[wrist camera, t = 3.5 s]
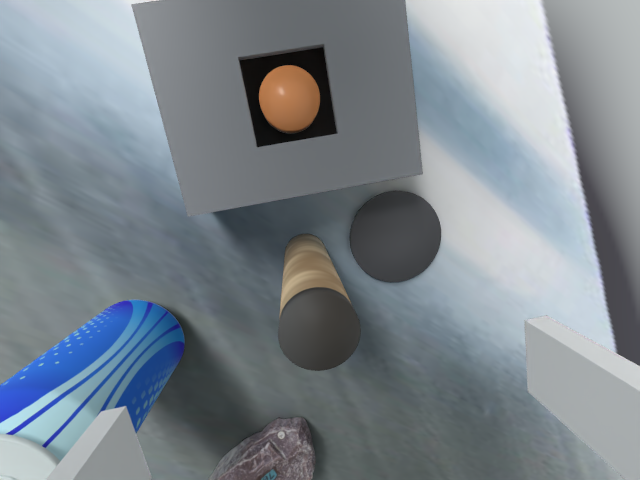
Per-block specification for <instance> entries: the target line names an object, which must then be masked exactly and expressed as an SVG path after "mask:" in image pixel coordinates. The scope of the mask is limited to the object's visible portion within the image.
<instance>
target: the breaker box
mask: <svg viewBox="0 0 640 480" xmlns="http://www.w3.org/2000/svg"><path fill="white" fill-rule="evenodd" d="M132 8H133V12H134V16H135V20H136V23H137V27H138V31H139V35H140V38H141V42H142V46H143V50H144V53H145V57H146V61H147V65H148V69H149V72H150V76H151V80H152V84H153V87H154V91H155V95H156V99H157V102H158V106H159V110H160V114H161V117H162V121H163V125H164V129H165V132H166V136H167V140H168V144H169V147H170V151H171V155H172V159H173V162H174V166H175V170H176V174H177V177H178V181H179V185H180V189H181V192H182V196H183V200H184V204H185V207H186V211H187V215H188V217H189V216H194V215H200V214H205V213H211V212H216V211H222V210H227V209H233V208H238V207H244V206H249V205H255V204H260V203H266V202H271V201H277V200H282V199H288V198H293V197H299V196H304V195H310V194H315V193H321V192H326V191H332V190H338V189H343V188H349V187H354V186H360V185H365V184H371V183H376V182H382V181H387V180H393V179H398V178H404V177H409V176H415V175H420V174H423V172H422V162H421V153H420V143H419V133H418V123H417V113H416V103H415V93H414V84H413V74H412V64H411V54H410V44H409V34H408V24H407V15H406V5H405V0H159V1H152V2H145V3H138V4H132ZM321 47H323V48H324V54H325V61H326V67H327V74H328V80H329V87H330V93H331V99H332V106H333V112H334V119H335V125H336V132H337V134H332V135H326V136H320V137H314V138H308V139H303V140H297V141H291V142H285V143H279V144H274V145H268V146H262V147H257V142H256V138H255V133H254V128H253V123H252V118H251V114H250V109H249V104H248V99H247V94H246V90H245V85H244V80H243V75H242V70H241V66H240V61H239V60H245V59H252V58H258V57H264V56H271V55H277V54H283V53H290V52H296V51H302V50H309V49H315V48H321Z"/></svg>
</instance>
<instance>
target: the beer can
mask: <svg viewBox="0 0 640 480" xmlns="http://www.w3.org/2000/svg"><path fill="white" fill-rule="evenodd" d="M184 346H185V339H184V334H183V330H182V328H181V326H180V324H179V322H178V321H177V319H176V318H175V317H174V316H173V315H172V314H171V313H170V312H169V311H168V310H166V309H165V308H163V307H162V306H160V305H158V304H155V303H153V302H149V301H145V300H126V301H122V302H119V303H116V304H114V305H112V306H110V307H108V308H107V309H105V310H104V311H103V312H101V313H100V314H98V315H97V316H96V317H94V318H93V319H91V320H90V321H89V322H87V323H86V324H84V325H83V326H82V327H80V328H79V329H77V330H76V331H75V332H73V333H72V334H71V335H69V336H68V337H66V338H65V339H64V340H62V341H61V342H59V343H58V344H57V345H55V346H54V347H52V348H51V349H50V350H48V351H47V352H46V353H44V354H43V355H41V356H40V357H39V358H37V359H36V360H34V361H33V362H32V363H30V364H29V365H27V366H26V367H25V368H23V369H22V370H21V371H19V372H18V373H16V374H15V375H14V376H12V377H11V378H9V379H8V380H7V381H5V382H4V383H2V384H1V385H0V480H46V479H47V477H48V476H49V475H50V474H51V473H52V471H53V470H54V469H55V468H56V466H57V465H58V464H59V463H60V461H61V460H62V459H63V458H64V457H65V455H66V454H67V453H68V452H69V450H70V449H71V448H72V447H73V445H74V444H75V443H76V442H77V441H78V439H79V438H80V437H81V436H82V434H83V433H84V432H85V431H86V429H87V428H88V427H89V426H90V425H91V423H92V422H93V421H94V420H95V418H96V417H97V416H98V415H99V413H100V412H101V411H105V410H110V409H115V408H119V407H124V406H126V407H127V410H128V413H129V416H130V418H131V421H132V424H133V427H134V429H135V432H136V433H137V431H138V430H139V428H140V426H141V425H142V423H143V421H144V420H145V418H146V416H147V415H148V413H149V411H150V410H151V408H152V406H153V405H154V403H155V401H156V400H157V398H158V396H159V395H160V393H161V391H162V390H163V388H164V386H165V385H166V383H167V381H168V380H169V378H170V376H171V375H172V373H173V371H174V370H175V368H176V366H177V365H178V363H179V361H180V360H181V357H182V355H183V352H184Z"/></svg>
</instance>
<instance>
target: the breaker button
mask: <svg viewBox="0 0 640 480" xmlns="http://www.w3.org/2000/svg"><path fill="white" fill-rule="evenodd" d="M259 102H260V106H261V109H262V112H263V114H264V116H265V118H266V120H267V121H268V123H269V124H270V125H271V126H272V127H273V128H275V129H276V130H278V131H280V132H283V133H288V134H293V133H299V132H301V131H303V130H305V129H306V128H308V127H309V126H310V125H311V124H312V122H313V121H314V119H315V117H316V114H317V112H318V109H319V106H320V92H319V88H318V86H317V84H316V82H315V80H314V79H313V77H312V76H311V75H310V74H309V73H308V72H307V71H305V70H304V69H302V68H300V67H297V66H293V65H284V66H280V67H277V68H275V69H273V70H272V71H271V72H269V73H268V74H267V75H266V77H265V78H264V80H263V82H262V84H261V86H260V91H259Z"/></svg>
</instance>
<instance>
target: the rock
mask: <svg viewBox="0 0 640 480" xmlns="http://www.w3.org/2000/svg"><path fill="white" fill-rule="evenodd" d="M315 464H316V458H315V452H314V447H313V443H312V438H311V433H310V430H309V427H308V425H307V422H306V420H305V419H304V418H303V417H300V418H299V417H295V418H288V419H281V418H278V419H276V420H273V421H272V422H270V423H269V424H268V425H267V426H266V427H265V428H264V429H263V431H262V432H258V433H255V434H253V435H252V436H250V437H248V438H246V439H244V440H243V441H242V442H241V443H240V444H239V445H237V446H236V447H234V448H233V449H231V450H230V451H229V452H228V453H227V454H225V456H224V457H223V458H222V459H221V460H220V461H219V463H218V465H217V467H216V468H215V470H214V472H213V473H212V475H211V476H210V477H209V479H208V480H311V479H312V478H313V472H314V469H315V466H314V465H315Z"/></svg>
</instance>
